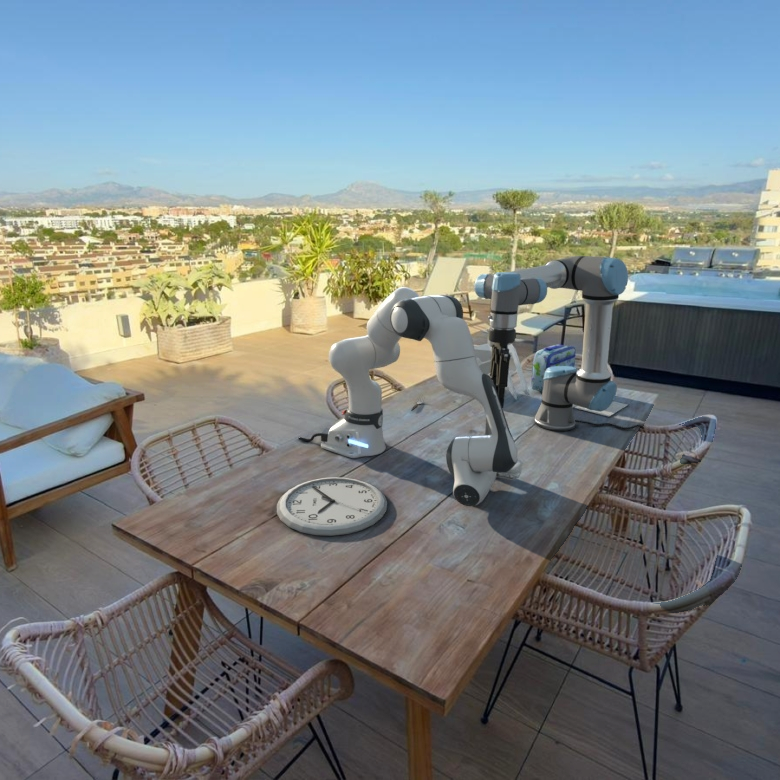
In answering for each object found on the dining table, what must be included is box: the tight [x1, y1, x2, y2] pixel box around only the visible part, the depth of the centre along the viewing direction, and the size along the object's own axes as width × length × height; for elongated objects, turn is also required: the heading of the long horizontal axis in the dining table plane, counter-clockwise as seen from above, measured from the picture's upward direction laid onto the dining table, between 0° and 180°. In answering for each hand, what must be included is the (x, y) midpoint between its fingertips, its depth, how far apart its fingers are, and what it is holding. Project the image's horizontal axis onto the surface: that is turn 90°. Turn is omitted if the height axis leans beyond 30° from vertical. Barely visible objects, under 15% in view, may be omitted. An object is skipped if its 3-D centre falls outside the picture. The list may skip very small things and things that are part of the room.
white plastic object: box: [474, 342, 531, 400], centre depth 245 cm, size 37×45×31 cm
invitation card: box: [573, 400, 629, 418], centre depth 226 cm, size 21×1×15 cm
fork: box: [410, 395, 425, 412], centre depth 222 cm, size 3×16×2 cm, turn 160°
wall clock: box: [276, 476, 388, 537], centre depth 142 cm, size 30×2×30 cm
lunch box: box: [530, 344, 577, 392], centre depth 247 cm, size 26×11×21 cm, turn 134°
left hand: (492, 453), depth 162 cm, fingers closed on bottle, 5 cm apart
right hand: (496, 404), depth 156 cm, fingers open, 5 cm apart
